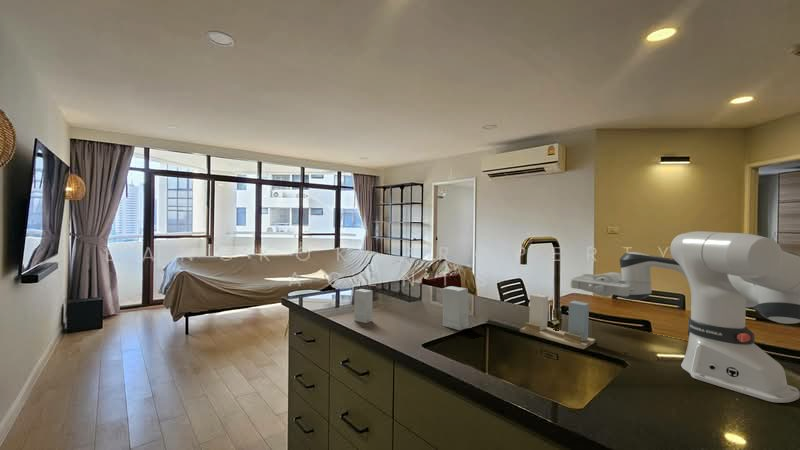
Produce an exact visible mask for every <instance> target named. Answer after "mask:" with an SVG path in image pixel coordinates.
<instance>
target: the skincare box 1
mask: <svg viewBox="0 0 800 450" xmlns="http://www.w3.org/2000/svg"><path fill="white" fill-rule="evenodd" d="M373 293H374V292H373V290H370V289H364V288H359V289H355V290H354V300H353V301H354V307H353V308H354V311H353V321H354V322H359V323H363V324H367V323H370V322H372V321H373Z"/></svg>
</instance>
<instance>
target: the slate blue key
mask: <svg viewBox="0 0 800 450" xmlns="http://www.w3.org/2000/svg"><path fill="white" fill-rule="evenodd" d="M589 313H590V303H587V302H582V301H577V300H572V301H569V302H568V320H567V321H568V322H567V323H568V324H567V332H568V333H570V334H574V335H578V336H581V341H585V340H587V339H588V337H589V321H590V320H589V317H590V315H589Z"/></svg>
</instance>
